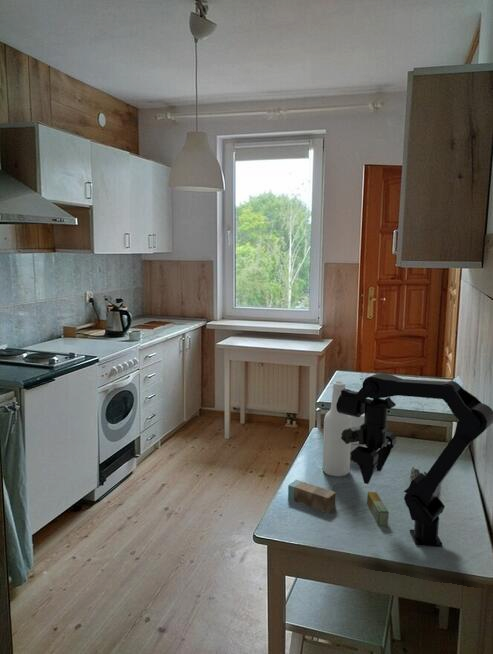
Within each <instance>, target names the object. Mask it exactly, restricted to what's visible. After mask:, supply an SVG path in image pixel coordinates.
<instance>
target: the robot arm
mask: <svg viewBox="0 0 493 654" xmlns="http://www.w3.org/2000/svg"><path fill="white" fill-rule="evenodd" d="M396 396H399V397H401V396H402V397H413V398H423V399H424V398H425V399H435V400H443V401H444V402H445V403H446V405H447V406H448V407H449V409H450V411H451V413H452V415H453V416H454V417H455V418H456V419H457V420H458V422H457V424H456V428H455V431H454V434H453V436H452V438H451V439H450V441H449V442H447V445H446V446H445V448H444V449H443V450H442V452H441V453H440V455H439V456H438V457H437V458H436V460H435V461H434V463H433V465H432V466H431V467H430V469H429V470H428V471H427V472H426V473H427V474H426V476H424V475H423V474H422V473H423V472H420V474H419V475H418V476H417V477H415V478H414V479H413V480H412V482H411V483H410V482H409V486H408V487H407V488H406V489H404V490H403V492H404V493H405V494H404V496H403V500H404V503H405V505H406V507H407V508H408V513H409V515H410V518H411V520H412V521H414V525H413V527H414V528H413V529H409V534H410V536H411V538H412V539H413V541H414V544H415V545H416V546H423V547H427V546H428V547H443V542H442V541H441V539H440V537H439V525H440V515H441V514H442V513H443V512H444V509H445V508H446V505H445V504H444V502H443V501H442V500H441V499H440V498H439V496H438V495H439V492H440V490H441V486H442V483H443V481H444V480H445V478H446V477H447V476H448V475H449V473H450V472H451V470H452V469H453V467H454V466H455V465H456V464H457V463H458V461H459V460H460V459H461V457H462V456H463V454H464V453H465V451H466V450H467V449H468V447H469V446H470V445H471V443H473V441H475V440H476V439H477V438H478V437H480V435H482V434H483V433H484V432H485V431H486V430H487V429H489V427H490V426H491V425H492V424H493V409H492V408H491V407H490V406H489V405H487V404H485V403H482V401H480V400H479V399H478V398H477V397H476V396H475V395H473V394H472V393H470V392H468V391H467V390H465V389H464V388H463V386H461V385H460V384H459V383H458V382H456V381H454V380H449V381H445V380H444V381H441V380H427V379H426V380H424V379H409V378H408V379H407V378H401V377H398V376H396V375H393V374H390V373H385V372H378V373H377V372H376V373H374V374H372V375H370V376H368V377H366V378H365V379H364V380H363V382H362V387H361V388H360V389H359V391H354V390H351V389H348V388H345V389H343V390H341V395H340V396H339V398H338V402H337V403H336V408H337V411H338V413H342V414H346V415H350V416H354V417H360V416H361V415H363V414H364V413H365V416H364V424H362V425H361V426H358V427H351V428H348V429H345V430H343V432H342V433H341V434H342V437H341V439H342V440H343V441H344V442H345V444H349V443H351V442H358V441H359V444H361V445H365V446H366V447H362V446H358V447H356V448H355V449H354V450H353V451H352V452H350V462H353V463H354V464H357V465H358V466H359V470H360V473H361V476H362V479H363V483H364V484H366V485H368V484H369V483H370V481H371V479H372V478H373V474H374V472H375V470H376V471H377V472H381V471H382V470H383V468H384V466H385V464H386V462H387V460H388V458H389V457H390V455H391V453H392V450H393V449H394V447H395V445H396V444H397V436H396V434H395V433H394V432H390V431H387V430H388V429H390V428H389V427H390V424H389V423H387V420H388V410H391V409H393V408H394V407H396V406H397V404H396V402H394V400H392V399H391V397H396Z"/></svg>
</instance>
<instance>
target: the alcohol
mask: <svg viewBox="0 0 493 654" xmlns="http://www.w3.org/2000/svg"><path fill="white" fill-rule="evenodd" d="M332 385H333V386H332V394H331V395H332V396H331V403H330V409H329V410H328V411H327V412H326V414H325V416H324V420H323V443H322V444H323V445H322V446H323V447H322V470H323V472H324V473H325V475H328V476H331V477H336V478H337V477H338V478H341V477H345V476H347V475H348V474H349V472H350V471H351V460H350V451H351V443H349V444H345V442H344V441H343V440H342V439H341V437H342V434H341V433H342V432H343V430H345V429H348V428H351V427H352V421H351V417H350V415H346V414H342V413H338V411H337V408H336V403H337V402H338V398H339V396H340V395H341V390H343V389H346V383H345V382H344V381H334V382H333V383H332Z"/></svg>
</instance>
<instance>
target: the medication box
mask: <svg viewBox="0 0 493 654" xmlns="http://www.w3.org/2000/svg"><path fill="white" fill-rule="evenodd" d="M366 505H367V508H368V510H369V511H370V513H371V515H372V516H373V519H374V521H375V522H376V524H377V526H378V527H379V526H380V527H385V526H388V525H389V524H388V523H389V513H390V512H389V511H388V509H387V507H386V505H385V504H384V502H383V500H382V499H381V497H380V496H379V494H378V493H377V491H367V497H366Z"/></svg>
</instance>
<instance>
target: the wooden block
mask: <svg viewBox="0 0 493 654" xmlns="http://www.w3.org/2000/svg"><path fill="white" fill-rule="evenodd" d="M287 488H288V489H287V494H288V496H287V499H288V500H289V501H293V502H295V503H299V504H301V505H304V506H305V507H309V508H312V509H315V510H318V511H321V512H324V513H326V514H329V513H330V512H331V511H332V510H333V509H334V508H335V507H336V502H337V501H336V499H337V493H336V491H333V490H330V489H327V488H324V487H321V486H319V485H318V486H317V485H314V484H312V483H307V482H306V481H302V480H299V479H295V480H294V481H292V482H291V483H289V484H288V486H287Z"/></svg>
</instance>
